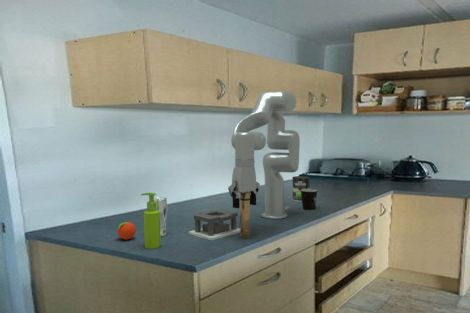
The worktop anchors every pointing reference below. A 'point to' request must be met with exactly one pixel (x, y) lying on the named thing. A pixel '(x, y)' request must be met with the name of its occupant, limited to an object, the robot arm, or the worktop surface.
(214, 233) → the collar stand
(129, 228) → the clementine
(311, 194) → the coffee mug
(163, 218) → the beer glass
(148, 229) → the soap dispenser
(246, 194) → the thermos bottle
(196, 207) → the worktop surface
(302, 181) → the coffee can
